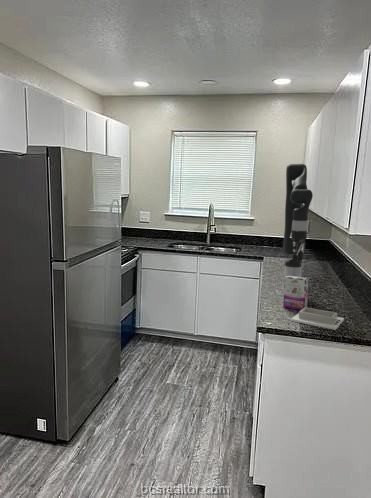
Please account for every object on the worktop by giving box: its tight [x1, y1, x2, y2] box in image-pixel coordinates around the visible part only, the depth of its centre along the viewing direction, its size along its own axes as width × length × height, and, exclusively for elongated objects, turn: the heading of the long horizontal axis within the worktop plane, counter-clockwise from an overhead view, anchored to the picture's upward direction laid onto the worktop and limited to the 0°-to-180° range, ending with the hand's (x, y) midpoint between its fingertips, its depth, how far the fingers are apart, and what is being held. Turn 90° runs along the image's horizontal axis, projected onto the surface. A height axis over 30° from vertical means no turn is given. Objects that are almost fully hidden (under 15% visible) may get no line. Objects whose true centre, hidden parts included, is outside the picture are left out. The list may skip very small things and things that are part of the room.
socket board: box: [290, 306, 345, 331], centre depth 174 cm, size 16×20×4 cm
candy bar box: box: [282, 276, 309, 311], centre depth 192 cm, size 11×5×16 cm, turn 56°
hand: (297, 261), depth 190 cm, fingers open, 8 cm apart
